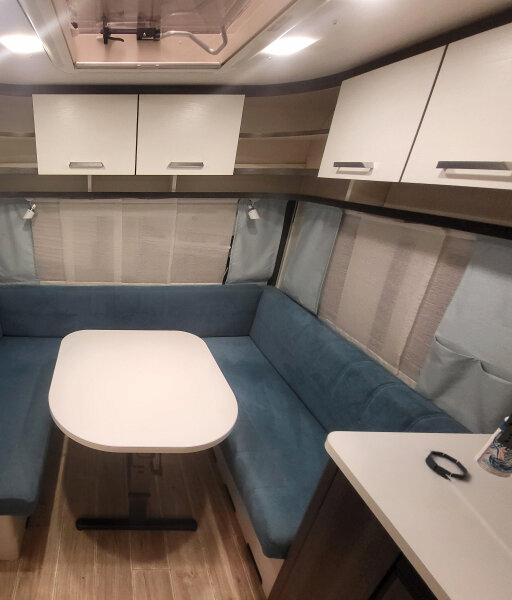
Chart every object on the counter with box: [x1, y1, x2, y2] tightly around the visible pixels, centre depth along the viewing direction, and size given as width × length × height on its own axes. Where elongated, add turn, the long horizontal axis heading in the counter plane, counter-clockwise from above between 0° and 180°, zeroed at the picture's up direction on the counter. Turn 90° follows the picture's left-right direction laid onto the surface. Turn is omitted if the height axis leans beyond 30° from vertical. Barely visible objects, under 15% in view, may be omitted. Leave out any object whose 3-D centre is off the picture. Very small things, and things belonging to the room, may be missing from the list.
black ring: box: [425, 450, 469, 481], centre depth 77 cm, size 7×7×2 cm
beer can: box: [473, 416, 512, 479], centre depth 57 cm, size 5×5×12 cm
